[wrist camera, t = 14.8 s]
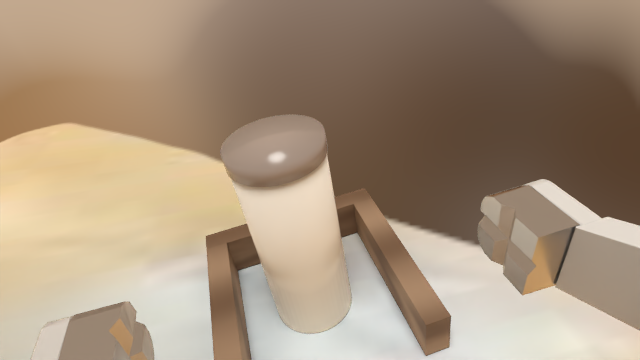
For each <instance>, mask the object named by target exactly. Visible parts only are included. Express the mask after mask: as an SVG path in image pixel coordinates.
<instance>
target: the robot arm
mask: <svg viewBox="0 0 640 360" xmlns="http://www.w3.org/2000/svg"><path fill="white" fill-rule="evenodd" d="M481 211H482V212H483V213H484V214H485V216H484V217H483V219H482V220H481V221H480V222H479V224H478V233H477V235H478V239H479V242H480V246H481V247H482V249H483V251H484V253H485V254H486V255H487V256H488V257H489V259H490V260H491V261H494V262H496V263H498V264H501V265H503V274H504V275H505V277H506V278H507V279H508V280H509V281H510V282H511V283H512V284H513V286H514V287H515V288H516V289H517V290H518V291H519V292H520V293H521V294H522V295H525V294H528V293H531V292H535V291H538V290H541V289H544V288H548V287H551V286H554V285H556V286H555V287H556V288H558V289H560V290H562V291H564V292H566V293H568V294H570V295H572V296H574V297H576V298H577V299H579V300H581V301H583V302H585V303H587V304H589V305H591V306H593V307H595V308H597V309H599V310H601V311H603V312H605V313H607V314H608V315H610V316H612V317H614V318H616V319H618V320H620V321H622V322H624V323H626V324H628V325H630V326H632V327H634V328H636V329H638V330H640V226H637V225H634V224H631V223H627V222H624V221H620V220H617V219H613V218H610V217H606V218H600V217H599V216H598V215H596V214H595V213H593V212H592V211H590V210H589V209H588V208H587V207H585V206H584V205H582V204H581V203H580V202H578V201H577V200H575V199H574V198H573V197H571V196H570V195H569V194H567V193H566V192H564V191H563V190H561V189H560V188H559V187H557V186H556V185H555V184H553V183H552V182H550V181H548V180H545V179H541V180H538V181H535V182H531V183H528V184H524V185H523V186H518V187H515V188H511V189H508V190H505V191H501V192H498V193H495V194H491V195H488V196H485V198H484V199H483V201H482V204H481ZM135 320H136V310H135V309H134V307H133V306H132V305H131V303H130V302H121V303H118V304H114V305H110V306H106V307H103V308H99V309H95V310H91V311H88V312H84V313H80V314H76V315H74V316H71V317H67V318H63V319H59V320H56V321H52V322H48V323H47V324H46V325H45V326H44V327H43V328H42V329H41V331H40V334H39V337H38V340H37V343H36V345H35V348H34V351H33V354H32V357H31V360H154V350H153V343H152V339H151V336H150V334H149V331H148V330H147V328H146V326H145V325H144V324H141V323H138V322H136V321H135Z"/></svg>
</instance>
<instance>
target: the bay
mask: <svg viewBox="0 0 640 360" xmlns="http://www.w3.org/2000/svg"><path fill="white" fill-rule="evenodd" d="M334 198H335V204H336V210H337V216H338V221H339V227H340V233H341V237H344V236H347V235H350V234H353V233H356V232H358V234H359V236H360V238H361V240H362V241H363V243H364V245H365V247H366V249H367V250H368V252H369V254H370V256H371V258H372V259H373V261H374V263H375V265H376V267H377V268H378V270H379V272H380V274H381V276H382V277H383V279H384V281H385V283H386V285H387V286H388V288H389V290H390V292H391V294H392V295H393V297H394V299H395V301H396V303H397V305H398V306H399V308H400V310H401V312H402V314H403V315H404V317H405V319H406V321H407V323H408V324H409V326H410V328H411V330H412V332H413V333H414V335H415V337H416V339H417V341H418V342H419V344H420V346H421V348H422V350H423V351H424V353H425V355H426V356H427V355H429V354H432V353H435V352H437V351H440V350H443V349H445V348H448V347H449V340H450V323H451V316H450V314H449V313H448V311H447V310H446V308H445V307H444V305H443V304H442V302H441V301H440V299H439V298H438V296H437V295H436V293H435V292H434V290H433V289H432V287H431V286H430V284H429V283H428V281H427V280H426V278H425V277H424V276H423V274H422V273H421V271H420V270H419V268H418V267H417V265H416V264H415V262H414V261H413V259H412V258H411V256H410V255H409V253H408V252H407V250H406V249H405V247H404V246H403V244H402V243H401V241H400V240H399V238H398V237H397V235H396V234H395V232H394V231H393V229H392V228H391V227H390V225H389V224H388V222H387V221H386V219H385V218H384V216H383V215H382V213H381V212H380V211H379V209H378V207H377V206H376V204H375V203H374V201H373V200H372V198H371V197H370V195H369V194H368V192H367V191H366V189H365V188H363V189H360V190H356V191H353V192H350V193H346V194H343V195H340V196H336V197H334ZM206 247H207V261H208V276H209V291H210V306H211V321H212V336H213V351H214V360H251V354H250V348H249V341H248V334H247V328H246V321H245V315H244V308H243V302H242V295H241V288H240V282H239V275H238V270H240V269H244V268H247V267H250V266H253V265H256V264H259V263H261V262H260V259H259V256H258V253H257V251H256V248H255V245H254V242H253V239H252V236H251V234H250V231H249V228H248V225H247V224H244V225H241V226H238V227H234V228H231V229H228V230H224V231H221V232H218V233H215V234H211V235H208V236H206Z"/></svg>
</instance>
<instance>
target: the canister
mask: <svg viewBox="0 0 640 360" xmlns="http://www.w3.org/2000/svg"><path fill="white" fill-rule="evenodd" d="M327 151H328V148H327V141H326V136H325V130H324V127H323V125H322V124H321V123H320V122H319V121H317V120H316V119H313V118H311V117H308V116H303V115H278V116H272V117H268V118H264V119H260V120H257V121H254V122H252V123H249V124H247V125H245V126H243V127H241V128H239V129H238V130H237V131H235V132H233V134H231V135H230V136H229V137H228V138H227V139H226V140H225V141H224V143H223V144H222V147H221V150H220V153H221V158H222V160H223V163H224V166H225V169H226V172H227V174H228V176H229V177H230V178H231V180H232V183H233V185H234V188H235V191H236V194H237V197H238V200H239V202H240V205H241V208H242V211H243V214H244V217H245V219H246V222H247V225H248V228H249V231H250V234H251V236H252V239H253V242H254V245H255V248H256V251H257V253H258V256H259V259H260V262H261V265H262V267H263V270H264V273H265V276H266V279H267V282H268V284H269V287H270V290H271V293H272V296H273V299H274V301H275V304H276V307H277V310H278V313H279V315H280V318H281V319H282V321H283V322H284V323H285V324H286V325H287V326H288V327H289V328H291V329H293V330H295V331H297V332H301V333H307V334H311V333H319V332H323V331H326V330H329V329H330V328H332V327H334V326H336V325H337V324H338V323H339V322H341V321H342V320H343V318H344V317H345V316H346V314H347V313H348V311H349V309H350V306H351V298H352V297H351V290H350V284H349V279H348V273H347V267H346V261H345V256H344V250H343V244H342V238H341V233H340V227H339V221H338V216H337V210H336V204H335V198H334V193H333V187H332V181H331V175H330V170H329V164H328V159H327Z"/></svg>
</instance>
